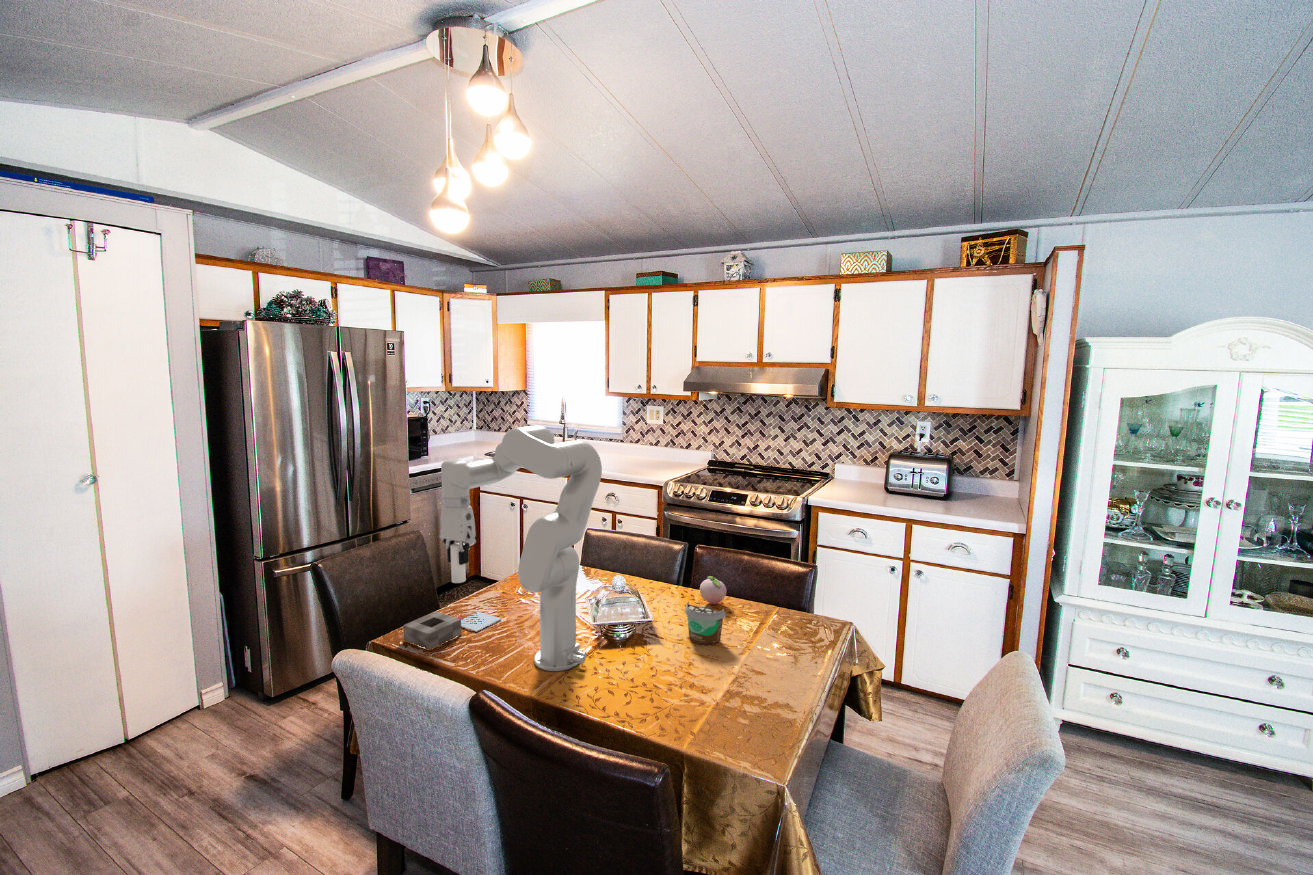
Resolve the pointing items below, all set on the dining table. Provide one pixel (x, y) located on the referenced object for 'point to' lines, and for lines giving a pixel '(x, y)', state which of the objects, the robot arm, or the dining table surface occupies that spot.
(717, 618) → the food container
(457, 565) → the peg
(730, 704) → the dining table surface
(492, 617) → the mat
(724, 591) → the decorative fruit
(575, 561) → the robot arm
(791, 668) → the dining table surface
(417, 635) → the socket block
